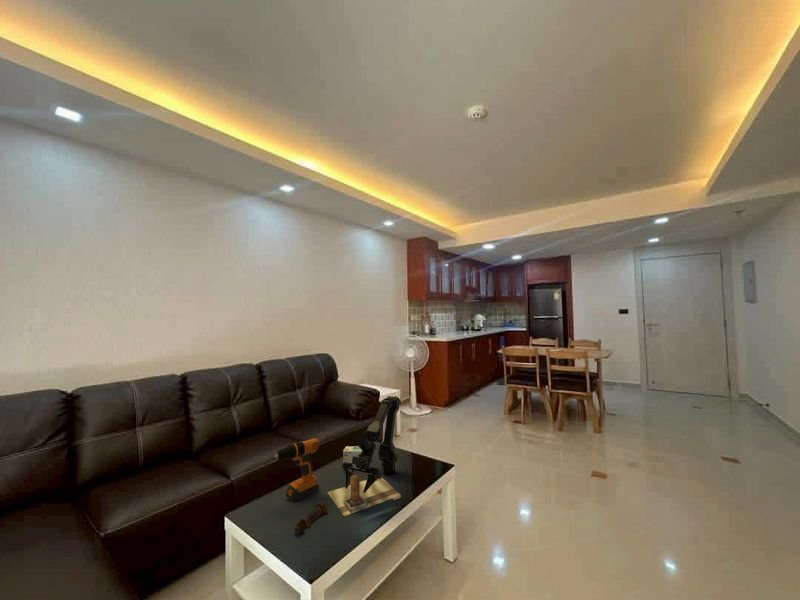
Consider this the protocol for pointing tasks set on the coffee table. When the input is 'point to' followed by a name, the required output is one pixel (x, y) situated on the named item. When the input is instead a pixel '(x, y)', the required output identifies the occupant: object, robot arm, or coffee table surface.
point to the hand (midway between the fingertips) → (354, 490)
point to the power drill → (302, 459)
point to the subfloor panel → (364, 496)
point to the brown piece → (355, 490)
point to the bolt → (310, 517)
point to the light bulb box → (350, 453)
